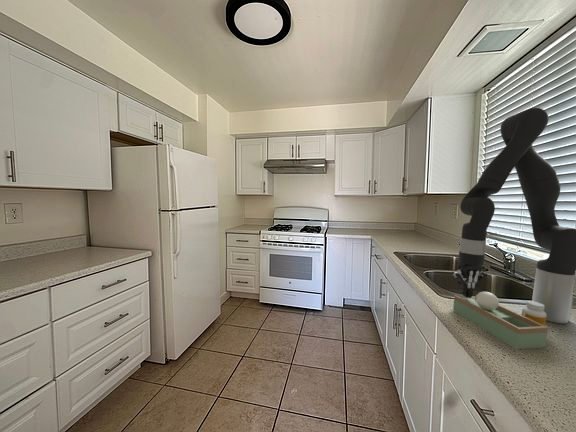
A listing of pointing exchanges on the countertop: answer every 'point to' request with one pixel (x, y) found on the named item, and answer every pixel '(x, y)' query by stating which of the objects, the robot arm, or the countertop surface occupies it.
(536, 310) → the supplement bottle
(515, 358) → the countertop surface
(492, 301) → the ball
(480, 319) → the runway
